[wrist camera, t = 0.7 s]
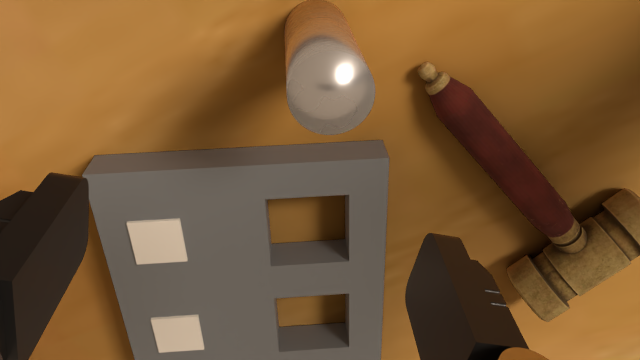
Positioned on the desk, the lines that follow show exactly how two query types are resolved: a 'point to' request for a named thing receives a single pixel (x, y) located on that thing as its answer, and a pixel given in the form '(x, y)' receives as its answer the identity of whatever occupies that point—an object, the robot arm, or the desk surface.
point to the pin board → (241, 249)
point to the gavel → (539, 206)
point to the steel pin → (325, 70)
